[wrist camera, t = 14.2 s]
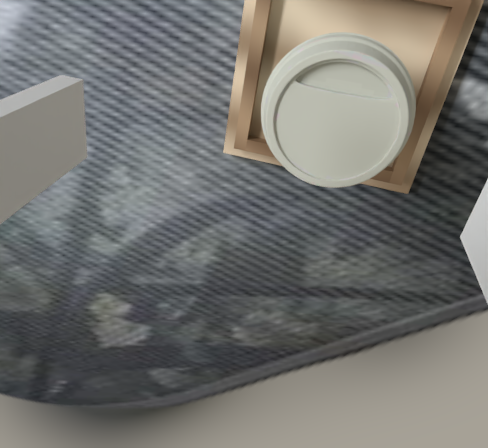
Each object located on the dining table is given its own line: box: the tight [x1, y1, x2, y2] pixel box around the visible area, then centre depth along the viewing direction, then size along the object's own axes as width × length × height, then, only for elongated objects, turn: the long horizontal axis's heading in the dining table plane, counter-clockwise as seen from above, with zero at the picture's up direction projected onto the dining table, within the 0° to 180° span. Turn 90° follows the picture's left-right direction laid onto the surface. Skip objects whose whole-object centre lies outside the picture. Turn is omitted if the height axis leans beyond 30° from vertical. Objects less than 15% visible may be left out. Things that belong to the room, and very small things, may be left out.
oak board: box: [223, 0, 484, 194], centre depth 34 cm, size 16×16×2 cm
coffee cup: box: [261, 32, 416, 188], centre depth 29 cm, size 8×8×12 cm
